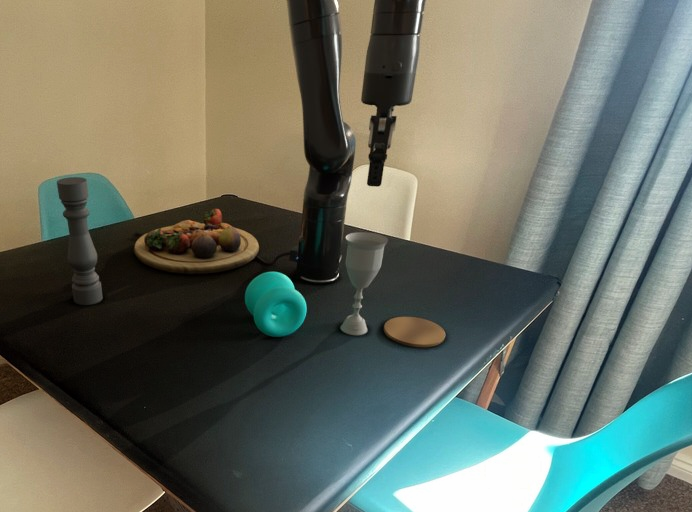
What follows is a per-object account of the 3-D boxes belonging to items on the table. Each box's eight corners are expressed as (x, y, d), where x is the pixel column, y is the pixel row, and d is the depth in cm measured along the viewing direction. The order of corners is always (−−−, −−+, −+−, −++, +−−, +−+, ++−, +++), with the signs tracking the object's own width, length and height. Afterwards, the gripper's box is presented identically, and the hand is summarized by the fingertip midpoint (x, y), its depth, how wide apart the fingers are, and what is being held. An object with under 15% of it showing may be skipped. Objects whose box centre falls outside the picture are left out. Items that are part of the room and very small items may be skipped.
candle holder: (108, 295, 121) (94, 178, 107) (91, 307, 116) (75, 186, 103) (84, 290, 123) (68, 175, 110) (67, 302, 118) (48, 183, 105)
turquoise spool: (290, 313, 112) (294, 267, 107) (306, 337, 104) (310, 288, 99) (242, 317, 111) (243, 271, 106) (254, 342, 102) (256, 293, 97)
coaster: (382, 342, 102) (383, 339, 101) (384, 316, 111) (385, 313, 110) (446, 350, 99) (447, 348, 99) (443, 323, 108) (443, 320, 108)
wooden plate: (185, 224, 162) (185, 195, 157) (281, 245, 146) (283, 214, 141) (108, 257, 140) (104, 225, 135) (210, 287, 124) (210, 252, 119)
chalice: (375, 323, 108) (389, 234, 99) (371, 339, 103) (387, 247, 93) (337, 318, 110) (348, 230, 101) (332, 334, 105) (343, 242, 95)
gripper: (367, 65, 90) (355, 168, 98) (361, 73, 78) (348, 189, 87) (415, 65, 88) (399, 170, 96) (417, 73, 76) (398, 191, 85)
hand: (375, 179), depth 92 cm, fingers open, 8 cm apart
